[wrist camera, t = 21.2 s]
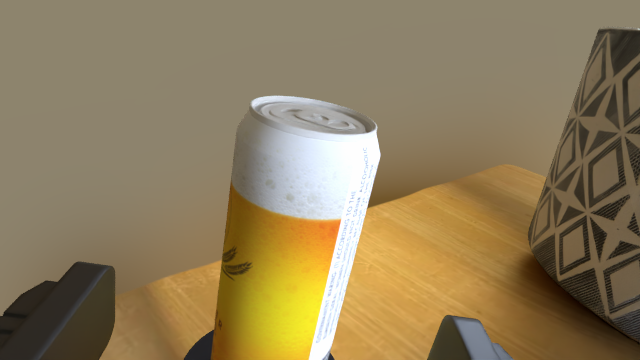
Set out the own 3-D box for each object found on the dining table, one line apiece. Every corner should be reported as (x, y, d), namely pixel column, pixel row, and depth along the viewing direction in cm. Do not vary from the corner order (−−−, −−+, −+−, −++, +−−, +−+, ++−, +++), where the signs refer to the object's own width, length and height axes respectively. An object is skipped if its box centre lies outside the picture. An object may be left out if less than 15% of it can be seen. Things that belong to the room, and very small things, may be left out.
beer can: (247, 322, 27) (282, 87, 21) (335, 363, 25) (400, 120, 19) (183, 393, 21) (208, 104, 15) (290, 452, 19) (362, 151, 14)
